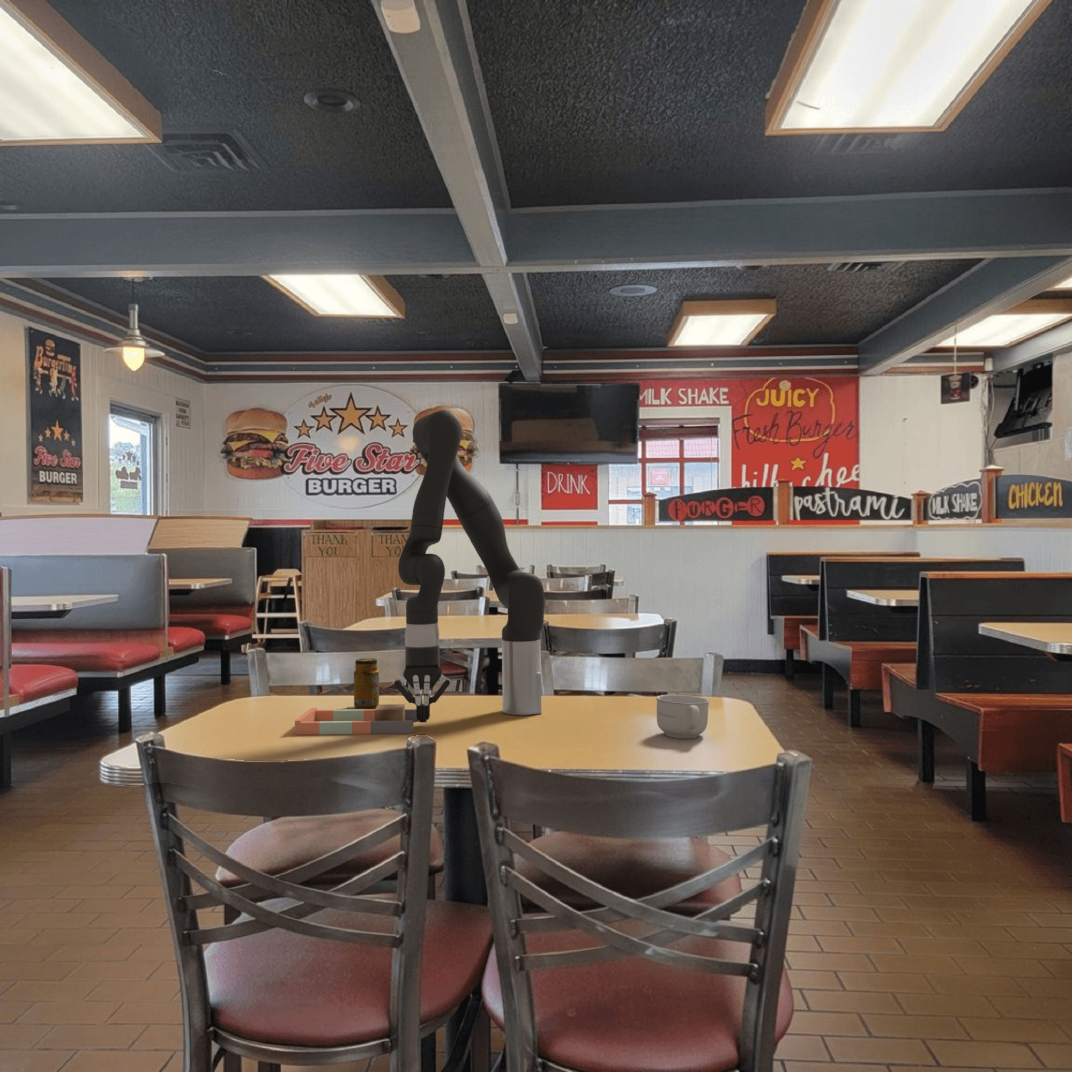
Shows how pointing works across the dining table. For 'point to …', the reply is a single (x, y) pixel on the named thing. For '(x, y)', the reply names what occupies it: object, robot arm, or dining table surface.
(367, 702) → the condiment
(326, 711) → the tray
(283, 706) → the dining table surface
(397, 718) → the block
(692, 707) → the teacup
